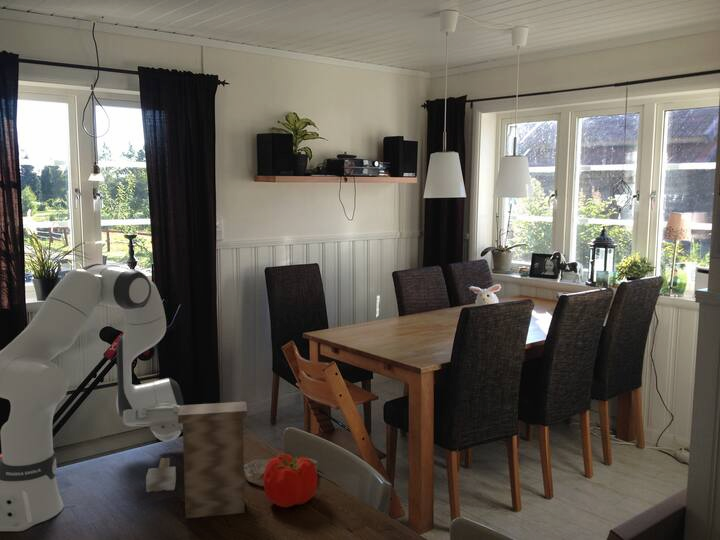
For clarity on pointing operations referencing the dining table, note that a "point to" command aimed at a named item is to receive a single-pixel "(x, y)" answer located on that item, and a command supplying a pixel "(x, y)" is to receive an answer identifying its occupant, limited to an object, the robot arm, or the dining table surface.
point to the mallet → (161, 477)
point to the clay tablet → (260, 470)
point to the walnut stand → (213, 458)
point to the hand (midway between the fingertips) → (159, 410)
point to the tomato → (289, 480)
